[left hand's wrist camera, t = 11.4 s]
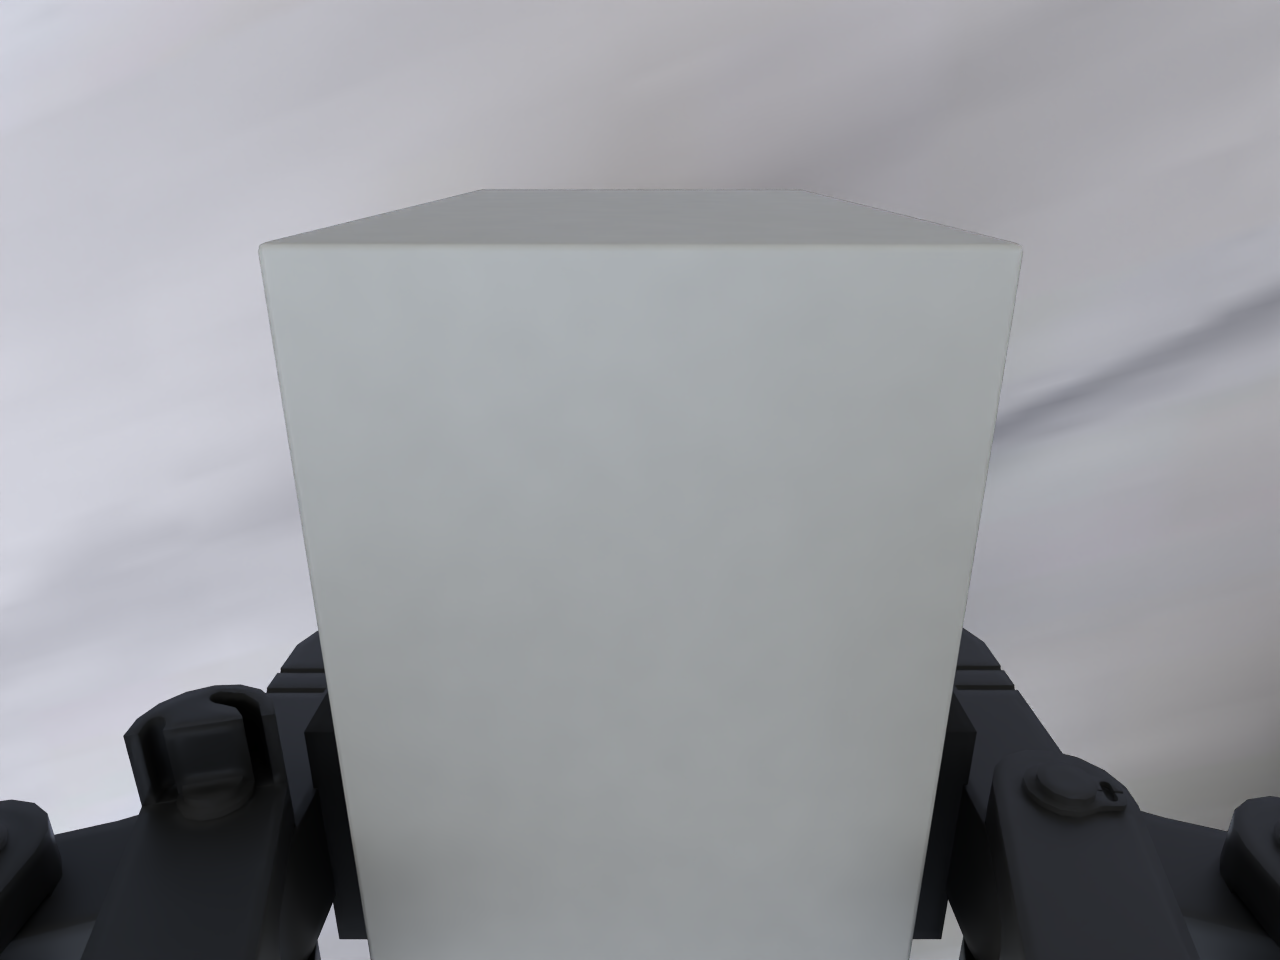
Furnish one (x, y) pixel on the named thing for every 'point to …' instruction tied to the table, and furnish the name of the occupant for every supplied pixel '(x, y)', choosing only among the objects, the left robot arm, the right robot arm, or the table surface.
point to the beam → (640, 559)
